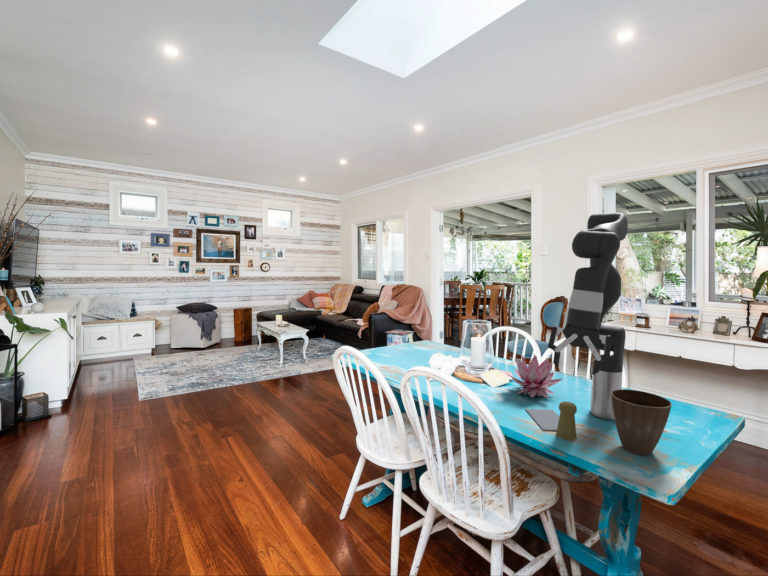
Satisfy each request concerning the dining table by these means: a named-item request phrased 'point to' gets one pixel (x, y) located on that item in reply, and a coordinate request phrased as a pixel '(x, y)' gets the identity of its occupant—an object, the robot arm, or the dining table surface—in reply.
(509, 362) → the dining table surface
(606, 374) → the robot arm
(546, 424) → the mat
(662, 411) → the plant pot
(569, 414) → the cork
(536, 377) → the decorative flower
